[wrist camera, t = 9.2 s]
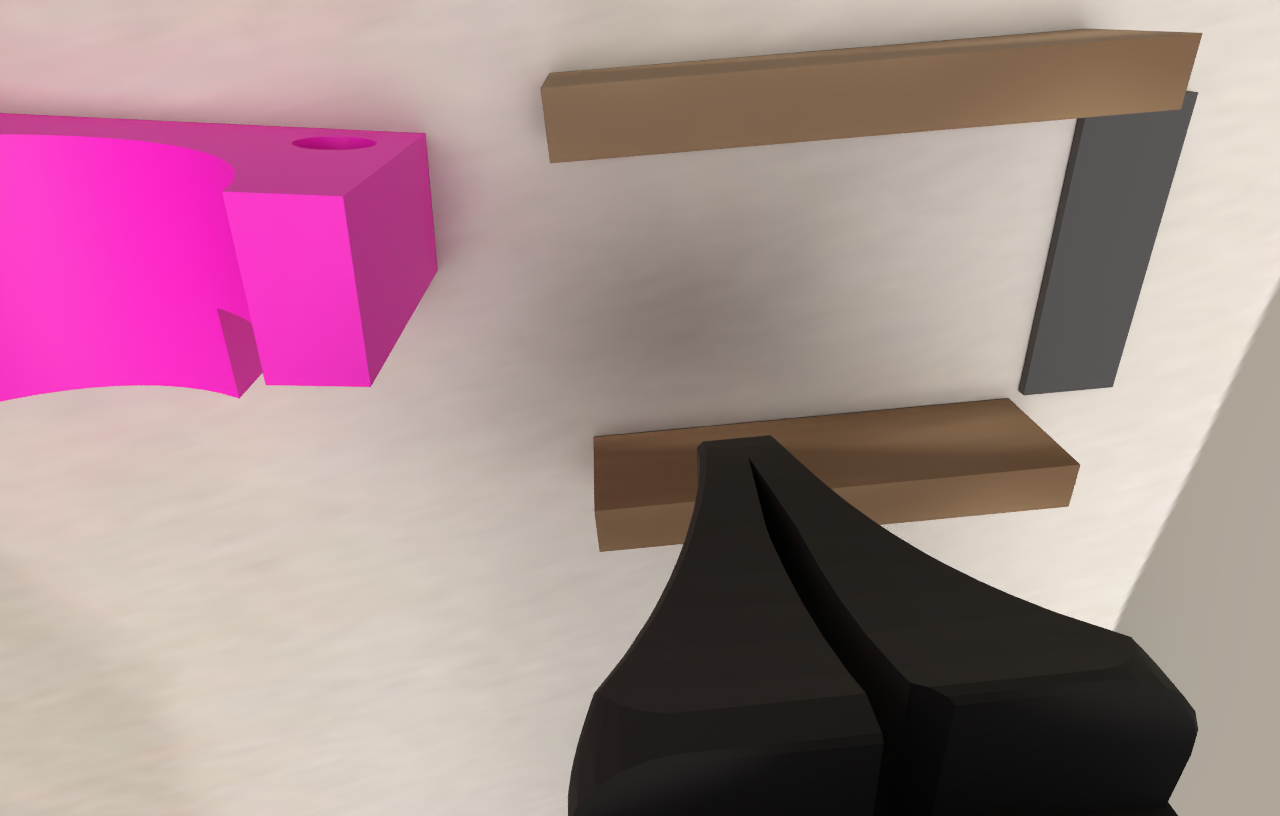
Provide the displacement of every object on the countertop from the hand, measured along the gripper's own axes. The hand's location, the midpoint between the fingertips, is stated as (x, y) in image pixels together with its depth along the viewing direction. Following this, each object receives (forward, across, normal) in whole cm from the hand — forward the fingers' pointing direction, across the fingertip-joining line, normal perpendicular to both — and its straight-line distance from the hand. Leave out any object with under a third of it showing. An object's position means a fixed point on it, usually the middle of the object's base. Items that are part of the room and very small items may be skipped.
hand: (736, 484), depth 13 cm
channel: (+10, -4, 0) cm, 11 cm away
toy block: (+10, +14, -3) cm, 18 cm away
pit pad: (+10, -13, 0) cm, 16 cm away
